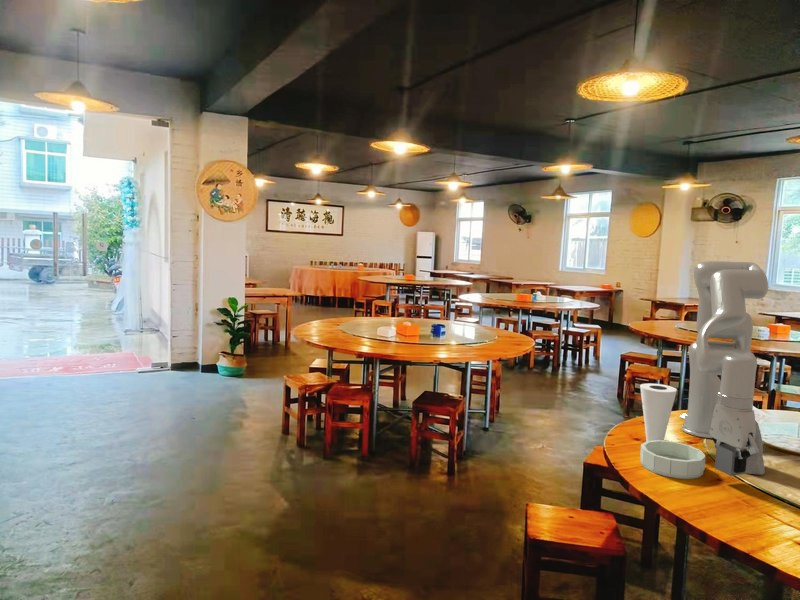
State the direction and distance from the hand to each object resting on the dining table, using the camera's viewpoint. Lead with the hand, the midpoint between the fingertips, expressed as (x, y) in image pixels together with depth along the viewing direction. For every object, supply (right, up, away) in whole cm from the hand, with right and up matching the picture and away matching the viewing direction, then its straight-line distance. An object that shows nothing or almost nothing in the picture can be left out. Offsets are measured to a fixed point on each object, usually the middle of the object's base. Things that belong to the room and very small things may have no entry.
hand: (730, 466), depth 145 cm
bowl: (-11, -3, +10) cm, 15 cm away
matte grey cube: (0, -1, 0) cm, 1 cm away
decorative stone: (+12, -4, +11) cm, 17 cm away
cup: (-6, -2, +30) cm, 31 cm away
